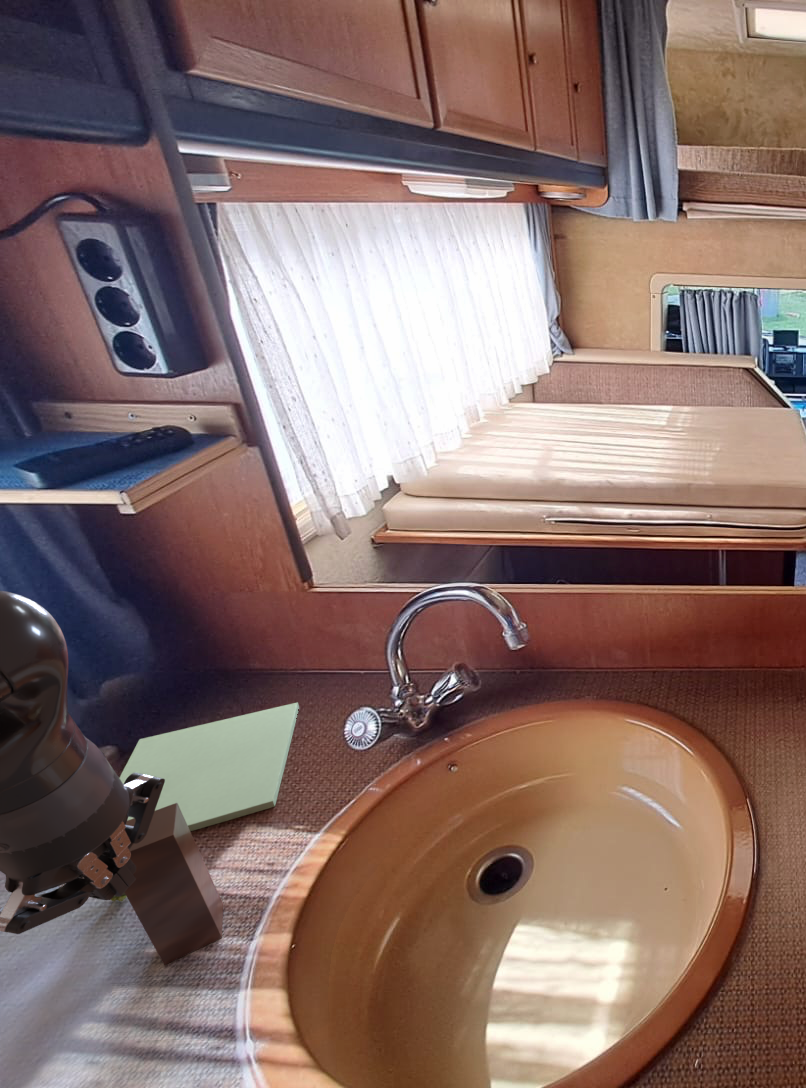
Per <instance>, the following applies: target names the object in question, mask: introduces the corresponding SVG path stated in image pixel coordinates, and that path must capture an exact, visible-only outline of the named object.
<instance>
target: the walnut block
mask: <svg viewBox="0 0 806 1088" xmlns="http://www.w3.org/2000/svg"><path fill="white" fill-rule="evenodd" d="M135 821H136V820H135V818H133V819H131V820H128V821H127V823H126V825H130V826H134V824H135ZM130 852H131V857H130V859H131V860H132V862H133V863H134V864H135V866H136V872H135V873H134V874H133V875H134V877H135V878H136V880H135V881H134V882H133V883H132V884H131V885H130V886H129V887H128V889H127V890H126V891H125V894H126V896H127V897H126V898H127V900H128V902H129V904H130V905H131V908H132V909H133V911H134V912H135V915H136V917H137V918H138V920H139V922H140V924H141V926H142V927H143V929H144V931H145V933H146V935H147V937H148V938H149V940H150V942H151V944H152V945H153V947H154V949H155V950H156V953H157V955H158V956H159V959H160V960H161V962H162V965H164V966H166V965H168V964H170V963H172V962H175V961H176V960H178V959H181V958H183V957H185V956H187V955H189V954H192V953H193V952H196V951H198V950H200V949H201V948H204V947H207V946H208V945H211V944H212V943H214V942H216V941H219V940H221V939H222V938H223V922H224V921H223V920H224V903H223V900H222V897H221V896H220V893H219V891H218V889H217V886H216V885H215V883H214V880H213V878H212V877H211V874H210V872H209V870H208V867H207V865H206V863H205V861H204V859H203V855H202V853H201V851H200V850H199V847H198V845H197V843H196V841H195V839H194V836H193V834H192V831H190V830H189V828H188V825H187V823H186V821H185V819H184V816H183V814H182V812H181V810H180V808H179V805H178V803H175V804H172V805H169V806H167V807H164V808H161V809H158V810H155V812H154V814H153V817H152V820H151V823H150V826H149V829H148V832H147V834H146V836H145V837H144V839H143V840H142V841H141V842H139V843H137V844H135V843H134V844H133V845H132V846H131V848H130Z"/></svg>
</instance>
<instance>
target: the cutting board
mask: <svg viewBox="0 0 806 1088" xmlns="http://www.w3.org/2000/svg"><path fill="white" fill-rule="evenodd" d="M298 709H299V710H300V705H299V702H298V701H297V702H294V703H289V704H285V705H280V706H276V707H271V708H268V709H263V710H259V711H255V712H254V711H253V712H251V713H246V714H241V715H238V716H233V717H229V718H226V719H221V720H216V721H212V722H208V723H204V724H199V725H194V726H190V727H187V728H182V729H178V730H174V731H170V732H164V733H159V734H157V735H153V736H148V737H144V738H139V739H138V741H137V743H136V746H135V747H134V749H133V751H132V753H131V755H130V756H129V759H128V760H127V762H126V765H125V766H124V768H123V770H122V772H121V773H120V776H119V779H120V780H121V781H122V783H123V784H124V782H125V780H126V779H127V777H128V776H129V775H131V774H132V773H135V772H136V773H140V774H145V775H149V776H154V777H158V778H163V779H165V783H164V786H163V788H162V791H161V794H160V797H159V800H158V803H157V806H156V809H155V810H158V809H161V808H164V807H167V806H169V805H172V804H175V803H178V805H179V808H180V810H181V812H182V814H183V816H184V819H185V821H186V823H187V825H188V828H189V830H190V832H194V831H197V830H200V829H203V828H207V827H210V826H213V825H217V824H221V823H225V822H227V821H231V820H234V819H237V818H242V817H245V816H247V815H251V814H255V813H258V812H261V811H264V810H269V809H272V808H275V807H276V804H277V801H278V796H279V793H280V788H281V783H282V781H283V780H282V779H283V776H284V772H285V767H286V765H287V759H288V755H289V751H290V748H291V743H292V740H293V739H292V738H293V735H294V731H295V728H296V723H297V719H298V715H297V714H299V711H298ZM296 718H297V719H296ZM131 819H133V817H128V820H131ZM128 820H127V821H128Z"/></svg>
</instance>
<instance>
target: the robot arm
mask: <svg viewBox="0 0 806 1088" xmlns="http://www.w3.org/2000/svg"><path fill="white" fill-rule="evenodd" d="M68 651H69V650H68V646H67V640H66V639H65V636H64V633H63V631H62V629H61V627H60V625H59V624H58V622H57V620H56V619H55V618H54V617H53V615H52V614H51V613H50V611H48V610H47V609H46V608H44V607H43V606H42V605H40V604H39V603H38V602H36V601H34V600H32V599H30V598H28V597H26V596H23V595H21V594H18V593H14V592H10V591H5V590H0V872H1V873H2V874H3V875H5V882H4V888H5V890H6V891H7V892H9V893H11V894H10V896H9V897H8V899H7V901H6V903H5V904H4V906H2V907H0V932H1V933H2V932H3V933H9V934H15V935H20V934H22V933H25V932H27V931H30V930H32V929H34V928H36V927H40V926H41V925H44V924H45V923H48V922H50V921H53V920H55V919H57V918H60V917H62V916H64V915H66V914H68V913H71V912H73V911H76V910H78V909H80V908H81V907H83V905H85V903H86V902H87V901H88V900H89V898H91V899H96V900H103V901H111V899H112V898H113V897H114V896H119V897H120V896H122V894H123V893H124V892H125V891H126V890H127V889H128V887H129V886H130V885H131V884H132V883H133V882H134V881H135V880H136V878H135V877H134V875H133V874H134V873H135V872H136V866H135V864H134V863H133V862H132V860H131V859H130V857H131V852H130V848H131V846H132V845H133V844H134V843H135V844H137V843H139V842H141V841H142V840H143V839H144V837H145V836H146V834H147V832H148V829H149V826H150V823H151V820H152V817H153V814H154V812H155V809H156V806H157V803H158V800H159V797H160V794H161V791H162V788H163V786H164V783H165V779H163V778H158V777H154V776H149V775H145V774H140V773H136V772H135V773H132V774H131V775H129V776H128V777H127V779H126V780H125V782H124V784H123V783H122V781H121V780H120V779H119V778H120V776H118V774H117V772H116V771H115V770H114V768H113V766H112V765H111V764H110V762H109V761H108V759H107V757H106V755H105V753H104V752H103V751H102V750H100V748H99V747H98V746H97V745H96V744H95V743H94V742H92V741H91V740H90V739H89V738H87V737H86V736H85V735H84V733H83V732H82V730H81V729H80V727H79V726H78V724H77V723H76V721H75V720H74V718H73V717H72V716H71V714H70V712H69V709H68V708H69V706H68V685H69V684H68V680H69V664H70V663H69V662H70V661H69V652H68ZM128 817H133V818H135V820H136V821H135V824H134V826H130V825H126V823H127V820H128Z"/></svg>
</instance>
